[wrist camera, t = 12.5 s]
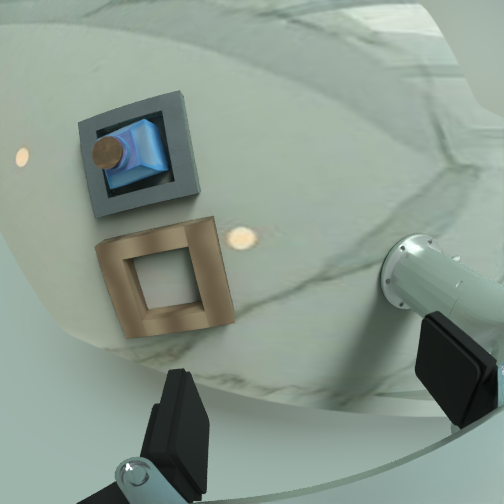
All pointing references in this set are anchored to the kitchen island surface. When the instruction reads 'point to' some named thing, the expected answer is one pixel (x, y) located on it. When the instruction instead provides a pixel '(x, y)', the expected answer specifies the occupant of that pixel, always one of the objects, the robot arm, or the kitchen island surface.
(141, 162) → the perfume bottle
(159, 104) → the block
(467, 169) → the kitchen island surface
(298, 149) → the kitchen island surface
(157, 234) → the tan square frame
